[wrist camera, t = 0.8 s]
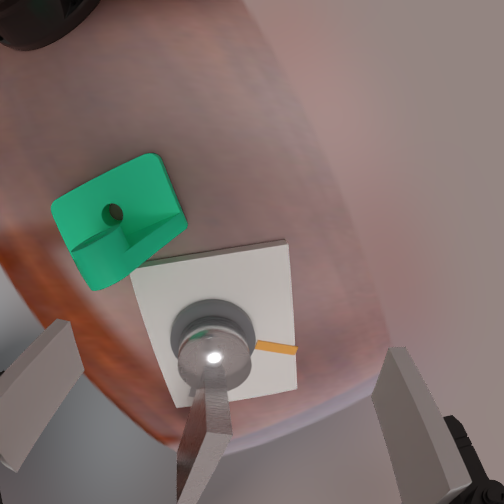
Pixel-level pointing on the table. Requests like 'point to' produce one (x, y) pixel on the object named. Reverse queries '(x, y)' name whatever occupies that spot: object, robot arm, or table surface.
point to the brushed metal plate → (208, 398)
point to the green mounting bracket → (119, 231)
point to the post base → (236, 285)
